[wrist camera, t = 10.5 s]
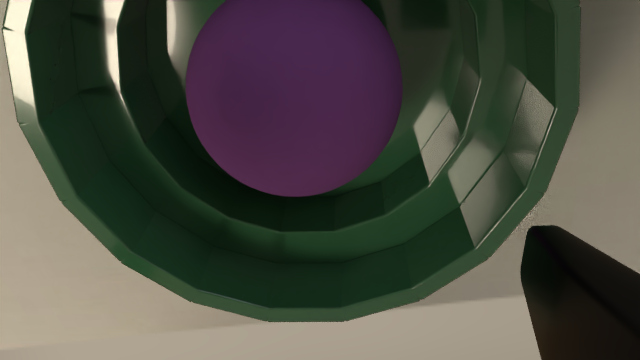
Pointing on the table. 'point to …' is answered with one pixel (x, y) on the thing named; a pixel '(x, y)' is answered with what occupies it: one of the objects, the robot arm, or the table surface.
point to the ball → (294, 92)
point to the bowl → (306, 211)
